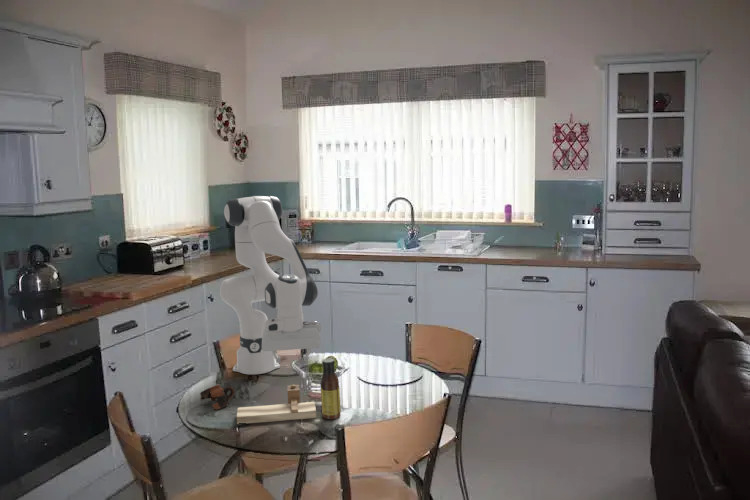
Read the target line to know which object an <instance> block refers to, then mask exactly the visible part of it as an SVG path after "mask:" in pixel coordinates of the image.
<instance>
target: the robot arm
mask: <svg viewBox="0 0 750 500" xmlns="http://www.w3.org/2000/svg"><path fill="white" fill-rule="evenodd" d="M223 214H224V218H225V220H226V222H227V224H228V225H229V226H232V227H235V228H234V245H235V258H236V261H237V263H238V264H239V265H242V266H244V267H245V268H249V269H250V271H251V274H249V275H241V276H239V275H238V276H233V277H229V278H227V279H223V280H222V282H221V283H220V285H219V297H220V298H221V300H222V302H224V303H225V304H226V305H228V306H230V307H231V308H232V309H233V310H234V311H235V314H236V315H237V318H238V321H239V331H240V336H239V346H240V347H239V348H238V349H237V350H236V363H235V365H234V366H233V367H232V371H233V372H237V373H240V374H244V375H261V374H266V373H270V372H271V371H273V370H277V369H279V368H281V365H280V364H281V356H278V355H277V351H279V352H280V351H288V350H289V351H293V350H294V351H295V350H306V353H305V354H303V362H308V361H309V356H310V354H311V352H312V349H319V348H320V347H321V346H322V341H321V336H320V334H321V332H322V325H321V323H320V322H318V321H316V320H313V321H304V312H303V308H302V307H305V306H307V307H310V306H311V305H313V303H314V302H315V301H316V300H317V299H318V298H317V297H318V296H319V295H318V294H319V292H318V287H317V285H316V282H315V280H314V279H313V277H312V276H311V274H310V271H309V270H308V267H307V266H306V263H305V261H304V259H303V258H302V257H303V256H302V254H301V253H300V250H299V249H298V247H297V245H296V243H295V242H294V240H293V239H291V238H289V237H288V236H287V235H286V234H285V233H284V232H283V229H282V228H281V224H280V219H281V218H282V215H283V206H282V202H281V200H280V199H279V198H278V197H277V196H276V195H275V196H273V195H267V196H265V195H252V196H247V197H240V198H237V197H236V198H230V199H228V200H227V201H226V203H225V204H224V210H223ZM266 254H268V255H271V256H272V255H273V256H277V257H280V258H282V259H284V260H286V261H287V262H288V264H289V265H290V267H291V269H292V272H293V274H289V273H287V274H286V273H285V274H281V275H279V274H278V273H276V272H275V271H274V270H273V269H272V268H271V267H270V266H269V264H268V262H267V260H266ZM258 302H265V303H266V305H267V306H268V307H270V308H272V309H277V312H276V313H277V314H276V317H273V318H270V319H269V318H268V316H267V314H266V313H265V312H264V311H262V310H259V309H257V308H254V307H253V303H258ZM279 363H280V364H279Z"/></svg>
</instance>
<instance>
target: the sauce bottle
mask: <svg viewBox="0 0 750 500" xmlns="http://www.w3.org/2000/svg"><path fill="white" fill-rule="evenodd" d="M321 363H322V364H321V365H322V375H321V381H320V398H321V399H320V400H321V402H320V403H321V413H322V417H323V418H324V419H328V420H335V419H339V416H341V411H342V410H341V393H340V384H339V382H340V381H339V377H338V375H337V374H336V373H335V372H336V371H335V359H334V358H331V357H330V358H324V359H322V361H321Z"/></svg>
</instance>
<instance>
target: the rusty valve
mask: <svg viewBox="0 0 750 500" xmlns="http://www.w3.org/2000/svg"><path fill="white" fill-rule="evenodd" d="M229 391H230V393H229V395H228V392H229ZM235 392H236V391H235V388H234V387H232V386H231V385H229V386H226V387H221V386H220V384H217V385H213V386H210V387H208V388H206V389H204V390H202V391H201V392H200V393H199V395H200V398H199V400H200V401H201V402H202V401H203V400H207V399H208V400H209V399H210V400H211V401H212V402H215V401H216V403H213V404H212V407H213V410H214V409H218V410H220V409H222V408H225V407H228V406H227V405H229V404H228V403H229V402H230V401H231V399H232V398H233V397H234V395H235Z"/></svg>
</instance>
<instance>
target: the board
mask: <svg viewBox="0 0 750 500" xmlns="http://www.w3.org/2000/svg"><path fill="white" fill-rule="evenodd" d="M297 406H298V413H292V408H291V404H288V403H279V404H278V403H277V404H269V405H267V404H266V405H255V406H243V407H241V406H240V407H237V413H236V425H240V424H239V423H246V424H257V423H268V422H270V423H271V422H279V421H280V422H282V421H291V420H306V419H317V408H316V403H315V401H306V402H300V403H297Z"/></svg>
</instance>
